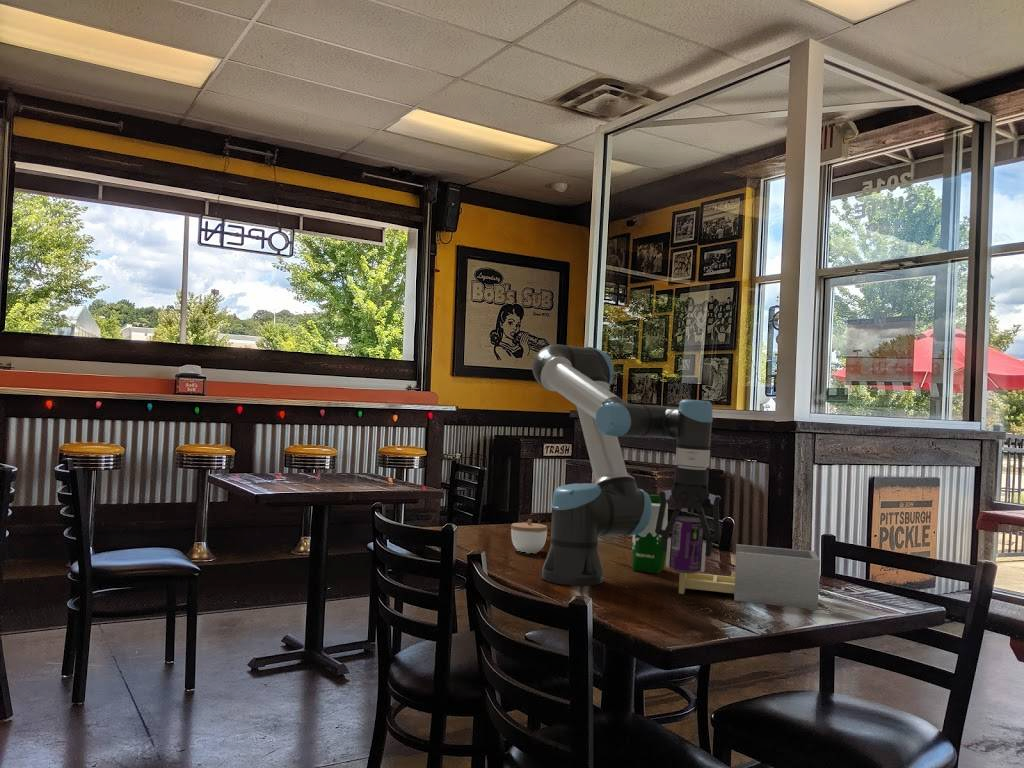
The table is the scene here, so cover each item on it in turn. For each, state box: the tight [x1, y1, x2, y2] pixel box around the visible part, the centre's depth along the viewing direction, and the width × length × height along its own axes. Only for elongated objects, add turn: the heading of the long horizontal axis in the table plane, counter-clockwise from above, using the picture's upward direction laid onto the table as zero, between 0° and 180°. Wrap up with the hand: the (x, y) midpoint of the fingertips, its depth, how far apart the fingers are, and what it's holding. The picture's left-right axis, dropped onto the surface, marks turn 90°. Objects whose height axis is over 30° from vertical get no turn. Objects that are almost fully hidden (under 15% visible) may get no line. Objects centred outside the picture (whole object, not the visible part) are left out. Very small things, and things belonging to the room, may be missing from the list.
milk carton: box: [631, 493, 669, 574], centre depth 218 cm, size 9×9×20 cm
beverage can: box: [669, 515, 705, 573], centre depth 184 cm, size 7×7×12 cm
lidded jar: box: [510, 518, 548, 554], centre depth 238 cm, size 11×11×9 cm
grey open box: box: [733, 543, 821, 611], centre depth 190 cm, size 18×14×11 cm
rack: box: [678, 572, 735, 595], centre depth 193 cm, size 18×14×10 cm
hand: (685, 568), depth 184 cm, fingers closed on beverage can, 7 cm apart
